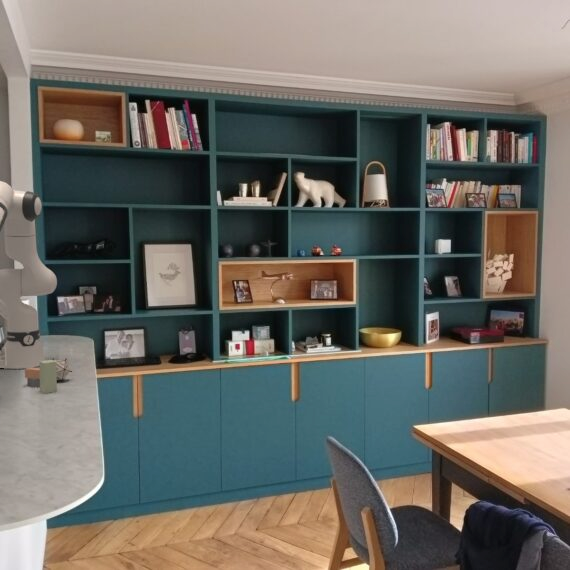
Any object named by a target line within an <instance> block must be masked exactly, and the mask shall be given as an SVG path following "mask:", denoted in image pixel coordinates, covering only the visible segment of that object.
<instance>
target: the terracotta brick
mask: <svg viewBox="0 0 570 570" xmlns="http://www.w3.org/2000/svg"><path fill="white" fill-rule="evenodd" d="M24 378H25V379H27V378H34V379H40V367H31V368H24Z"/></svg>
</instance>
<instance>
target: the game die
mask: <svg viewBox="0 0 570 570" xmlns="http://www.w3.org/2000/svg"><path fill="white" fill-rule="evenodd" d="M51 360H53V361H56V375H57V381H61V382H62V383H64V379H65V378H66V377H67V375H68V374H69V373H72V372H73V370H70V368H69V366H68V363H67V360H68V358H65V359H64V360H63V359H59V360H58V359H55V358H52V359H51Z"/></svg>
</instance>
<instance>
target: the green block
mask: <svg viewBox="0 0 570 570" xmlns="http://www.w3.org/2000/svg"><path fill="white" fill-rule="evenodd" d="M46 360H47V361H39V364H40V366H39V368H40V387H39V391H40V392H41V393H43V394H49V392H51V393H55V392H56V391H58V385H57V381H58V380H57V375H56V361H53V360H52V359H46Z"/></svg>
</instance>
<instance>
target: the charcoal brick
mask: <svg viewBox="0 0 570 570" xmlns="http://www.w3.org/2000/svg"><path fill="white" fill-rule="evenodd" d="M26 380H27V382H26V383H27V386H29V387H31V388H33V387H34V388H33V389H36V388H35V387H37V388H40V379H34V378H26Z"/></svg>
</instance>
